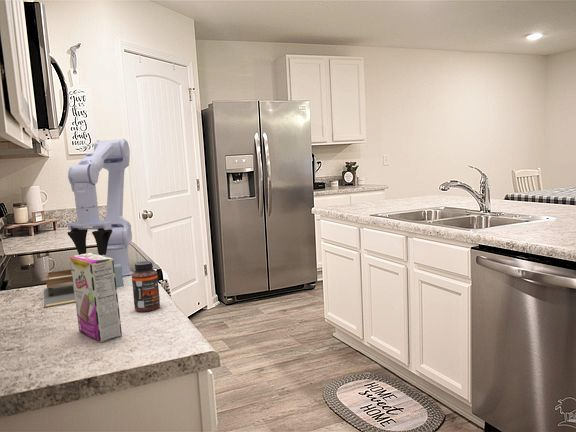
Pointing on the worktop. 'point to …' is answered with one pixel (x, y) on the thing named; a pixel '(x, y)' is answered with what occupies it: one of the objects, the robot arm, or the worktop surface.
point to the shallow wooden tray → (58, 279)
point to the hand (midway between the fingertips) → (92, 254)
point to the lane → (59, 296)
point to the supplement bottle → (145, 287)
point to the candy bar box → (96, 296)
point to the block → (118, 275)
